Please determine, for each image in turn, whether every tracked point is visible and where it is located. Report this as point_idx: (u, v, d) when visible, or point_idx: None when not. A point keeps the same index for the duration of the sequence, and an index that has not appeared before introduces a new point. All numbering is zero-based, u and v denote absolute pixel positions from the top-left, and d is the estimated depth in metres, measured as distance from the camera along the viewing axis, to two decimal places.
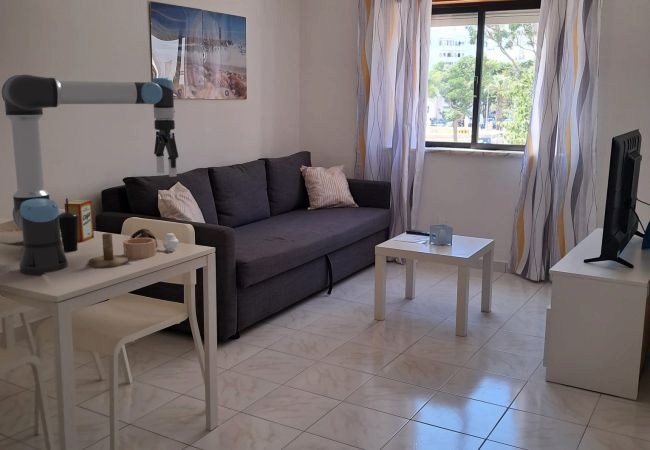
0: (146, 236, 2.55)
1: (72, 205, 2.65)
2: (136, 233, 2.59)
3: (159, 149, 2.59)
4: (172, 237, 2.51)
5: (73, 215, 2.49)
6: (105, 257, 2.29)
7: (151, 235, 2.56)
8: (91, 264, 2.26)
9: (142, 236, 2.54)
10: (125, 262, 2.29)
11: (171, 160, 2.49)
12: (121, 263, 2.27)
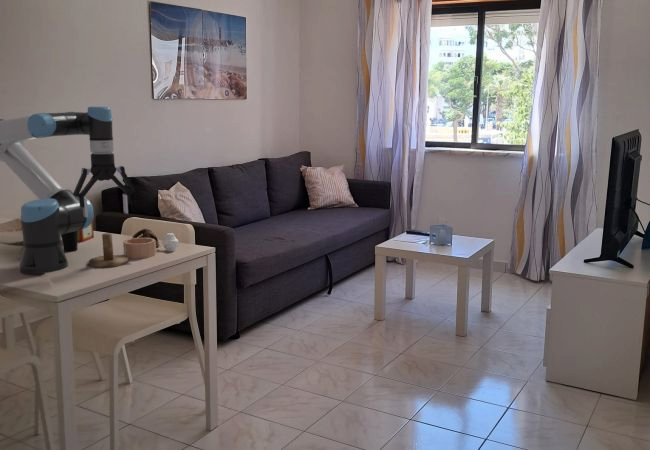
0: (148, 236, 2.54)
1: None
2: (138, 233, 2.59)
3: None
4: (172, 237, 2.51)
5: None
6: (105, 257, 2.29)
7: (153, 235, 2.56)
8: (91, 264, 2.26)
9: (144, 236, 2.54)
10: (125, 262, 2.29)
11: None
12: (121, 263, 2.27)
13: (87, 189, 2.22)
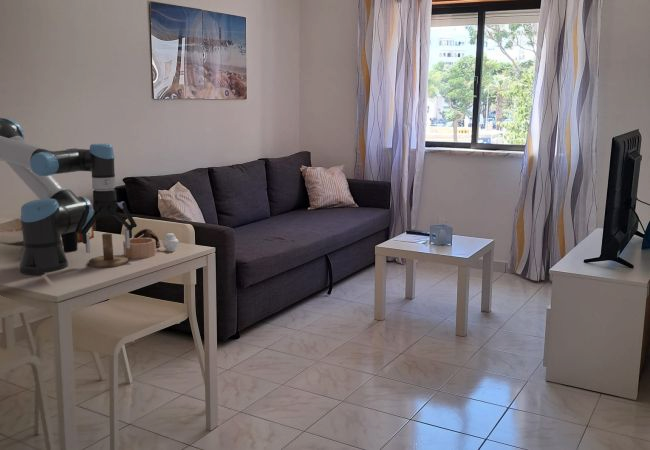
0: (149, 236, 2.54)
1: None
2: (138, 233, 2.59)
3: (120, 221, 2.31)
4: (172, 237, 2.51)
5: None
6: (105, 257, 2.29)
7: (154, 235, 2.56)
8: (91, 264, 2.26)
9: (145, 236, 2.54)
10: (125, 262, 2.29)
11: None
12: (121, 263, 2.27)
13: (89, 225, 2.24)
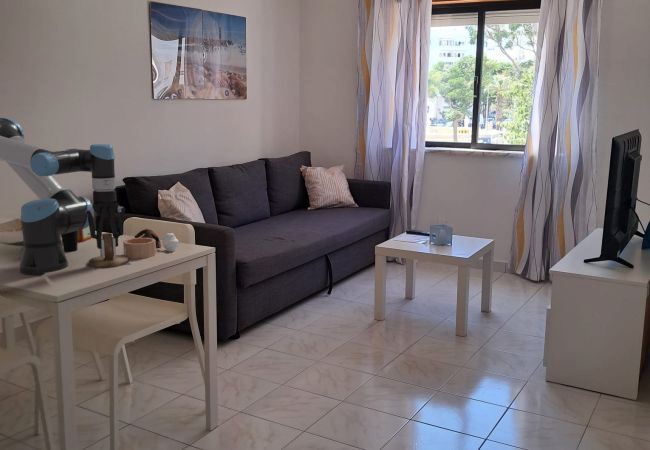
0: (150, 236, 2.54)
1: None
2: (139, 233, 2.58)
3: (111, 226, 2.30)
4: (172, 237, 2.51)
5: None
6: (105, 257, 2.29)
7: (154, 235, 2.56)
8: (91, 264, 2.26)
9: (146, 236, 2.53)
10: (125, 262, 2.29)
11: None
12: (121, 263, 2.27)
13: (100, 229, 2.26)
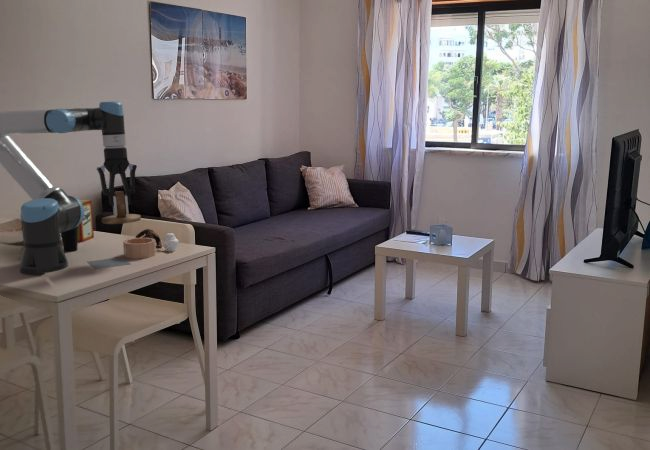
0: (151, 236, 2.54)
1: None
2: (140, 233, 2.58)
3: (123, 184, 2.31)
4: (172, 237, 2.51)
5: None
6: (117, 214, 2.30)
7: (156, 235, 2.56)
8: (104, 221, 2.27)
9: (147, 236, 2.53)
10: (137, 219, 2.30)
11: None
12: (133, 220, 2.28)
13: (112, 187, 2.28)
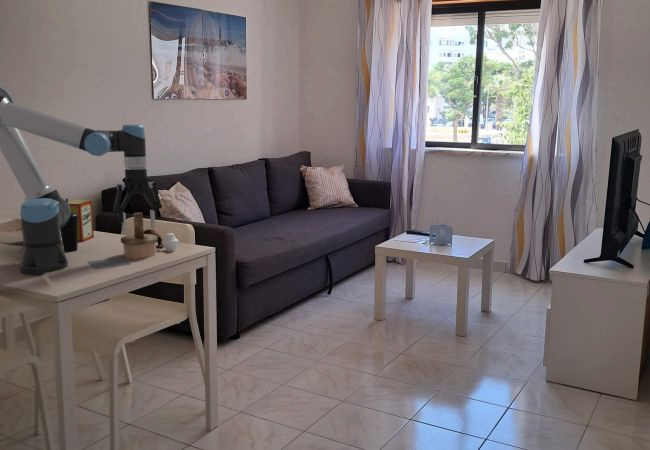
0: None
1: (72, 205, 2.65)
2: None
3: (147, 201, 2.42)
4: (172, 237, 2.51)
5: (73, 215, 2.49)
6: (136, 235, 2.40)
7: (157, 235, 2.56)
8: (123, 242, 2.37)
9: None
10: (155, 240, 2.40)
11: None
12: (152, 241, 2.38)
13: (125, 204, 2.36)
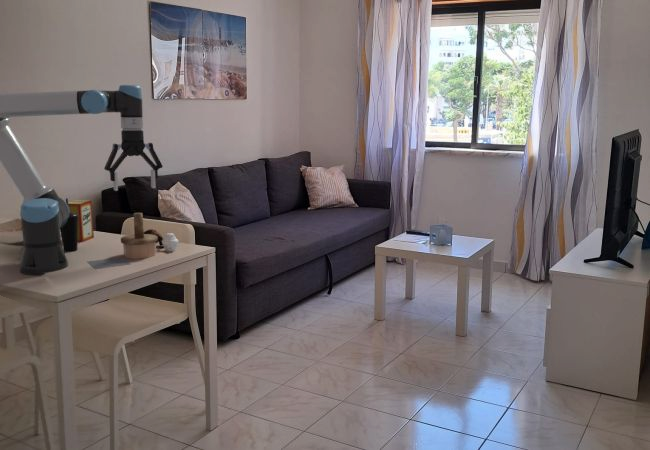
0: None
1: (72, 205, 2.65)
2: None
3: (147, 162, 2.40)
4: (172, 237, 2.51)
5: (73, 215, 2.49)
6: (136, 235, 2.40)
7: (159, 235, 2.56)
8: (123, 242, 2.37)
9: None
10: (155, 240, 2.40)
11: None
12: (152, 241, 2.38)
13: (118, 164, 2.33)
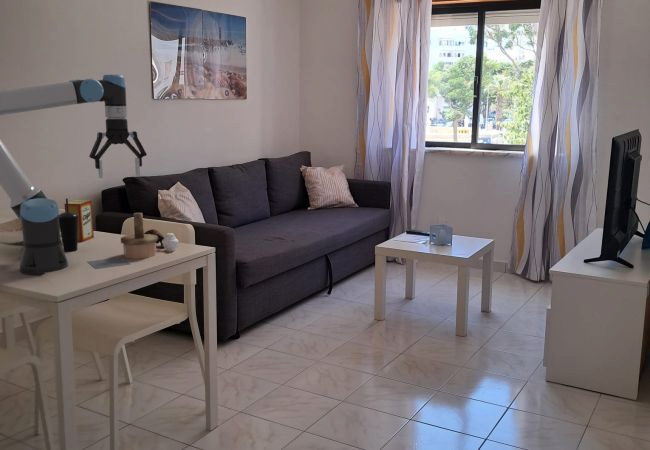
0: None
1: (72, 205, 2.65)
2: None
3: (131, 150, 2.46)
4: (172, 237, 2.51)
5: (73, 215, 2.49)
6: (136, 235, 2.40)
7: (160, 235, 2.56)
8: (123, 242, 2.37)
9: None
10: (155, 240, 2.40)
11: None
12: (152, 241, 2.38)
13: (102, 152, 2.38)
